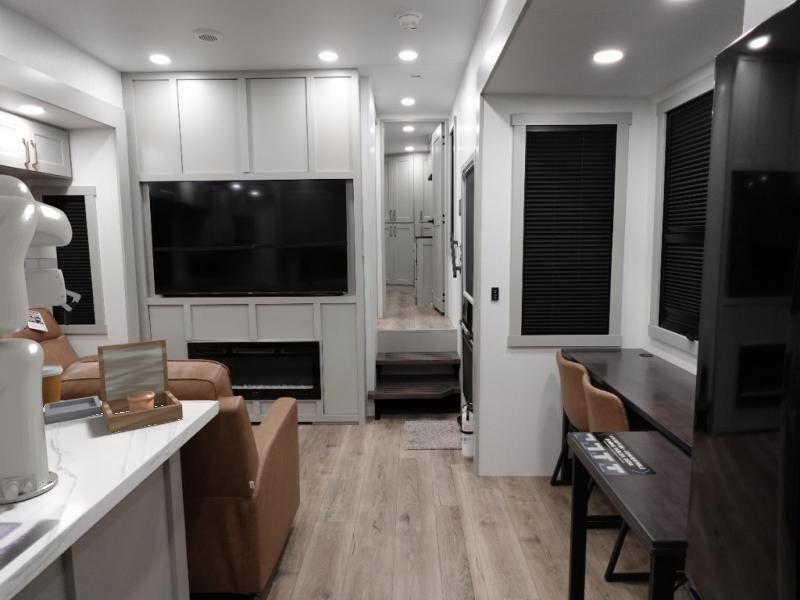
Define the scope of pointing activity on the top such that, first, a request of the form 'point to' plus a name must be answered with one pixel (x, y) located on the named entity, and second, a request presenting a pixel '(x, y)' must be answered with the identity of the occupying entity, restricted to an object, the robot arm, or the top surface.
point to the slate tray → (72, 409)
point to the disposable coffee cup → (51, 383)
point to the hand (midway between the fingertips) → (46, 326)
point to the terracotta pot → (140, 401)
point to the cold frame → (135, 384)
